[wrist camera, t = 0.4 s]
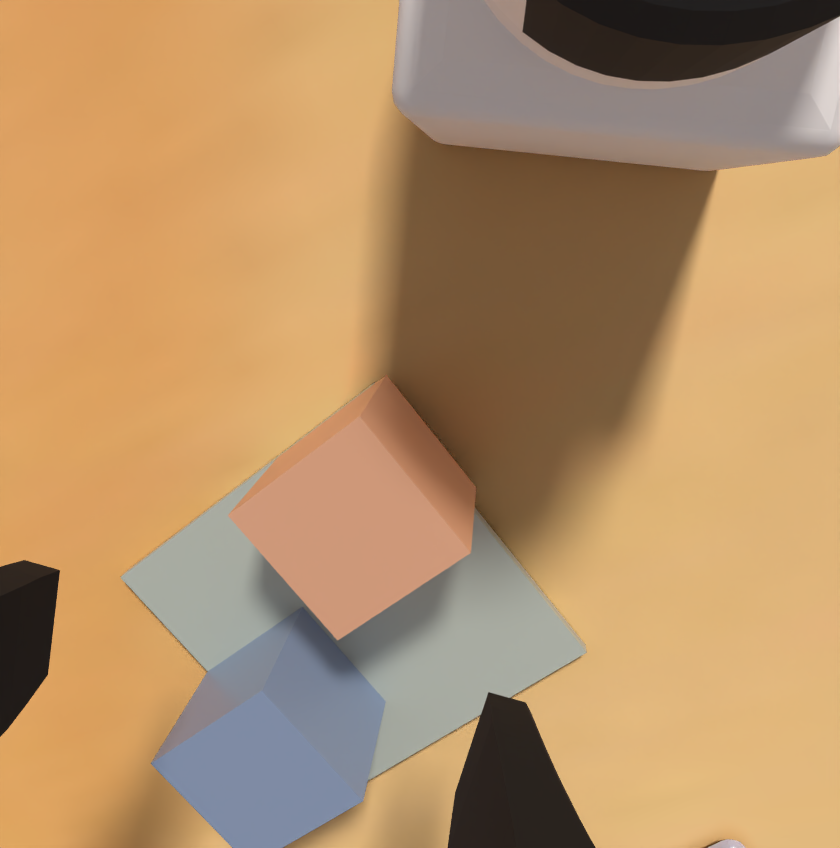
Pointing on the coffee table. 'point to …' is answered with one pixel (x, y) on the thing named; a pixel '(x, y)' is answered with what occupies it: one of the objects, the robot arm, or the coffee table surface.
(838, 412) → the coffee table surface
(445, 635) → the plate
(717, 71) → the medicine bottle
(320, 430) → the salmon orange cube
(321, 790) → the blue brick
